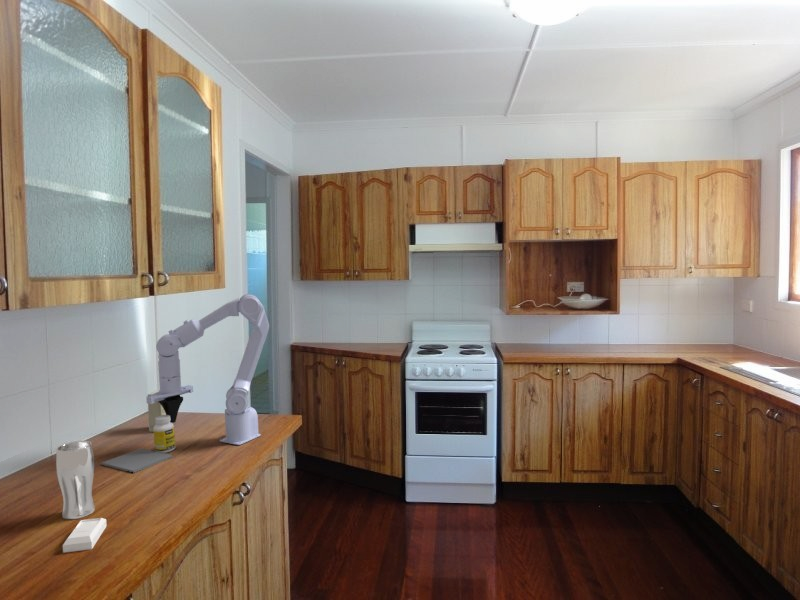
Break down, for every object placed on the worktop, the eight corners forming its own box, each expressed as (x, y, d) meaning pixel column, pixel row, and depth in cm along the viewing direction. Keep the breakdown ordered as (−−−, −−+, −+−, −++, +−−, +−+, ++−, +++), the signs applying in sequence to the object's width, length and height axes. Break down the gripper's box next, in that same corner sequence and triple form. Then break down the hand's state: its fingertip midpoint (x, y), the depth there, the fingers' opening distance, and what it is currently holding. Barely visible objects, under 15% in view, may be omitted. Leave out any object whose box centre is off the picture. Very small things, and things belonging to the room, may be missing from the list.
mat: (141, 450, 154) (141, 448, 154) (172, 457, 148) (172, 455, 148) (101, 464, 144) (101, 462, 144) (133, 473, 138) (133, 470, 138)
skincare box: (162, 432, 170) (160, 394, 169) (148, 432, 170) (146, 394, 169) (171, 425, 176) (169, 389, 175) (158, 426, 176) (156, 389, 175)
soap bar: (63, 554, 101) (62, 541, 101) (80, 530, 110) (79, 518, 109) (92, 550, 102) (91, 537, 102) (106, 527, 111) (106, 515, 110)
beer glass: (73, 505, 120) (68, 440, 119) (103, 505, 120) (99, 440, 119) (52, 520, 113) (47, 451, 112) (84, 520, 113) (79, 451, 112)
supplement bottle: (168, 454, 151) (164, 420, 150) (151, 453, 152) (147, 420, 151) (179, 446, 156) (176, 414, 155) (163, 445, 157) (160, 413, 156)
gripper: (180, 369, 163) (182, 413, 164) (138, 379, 150) (140, 427, 151) (197, 372, 160) (199, 416, 161) (155, 382, 147) (157, 430, 148)
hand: (172, 422), depth 156 cm, fingers closed
